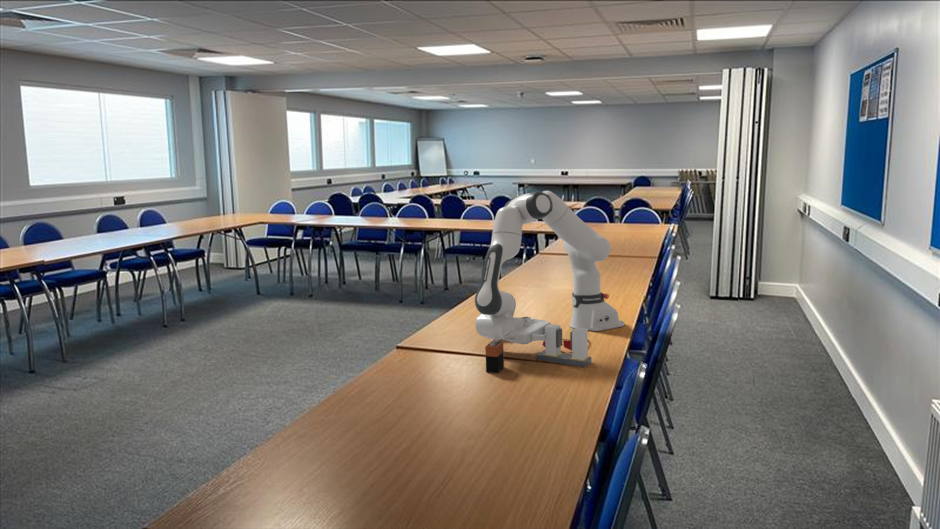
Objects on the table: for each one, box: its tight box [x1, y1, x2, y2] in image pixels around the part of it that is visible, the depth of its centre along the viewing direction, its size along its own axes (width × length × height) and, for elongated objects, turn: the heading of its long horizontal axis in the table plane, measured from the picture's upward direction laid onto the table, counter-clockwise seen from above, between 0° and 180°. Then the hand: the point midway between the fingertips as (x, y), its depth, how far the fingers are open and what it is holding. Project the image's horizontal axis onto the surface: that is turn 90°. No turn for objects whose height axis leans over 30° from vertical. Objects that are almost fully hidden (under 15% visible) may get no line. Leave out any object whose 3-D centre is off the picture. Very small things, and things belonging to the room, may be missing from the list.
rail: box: [536, 350, 593, 368], centre depth 228 cm, size 18×6×2 cm, turn 57°
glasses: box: [541, 338, 590, 352], centre depth 247 cm, size 14×16×5 cm
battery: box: [484, 339, 505, 374], centre depth 221 cm, size 4×7×10 cm, turn 159°
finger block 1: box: [544, 323, 563, 356], centre depth 229 cm, size 5×4×10 cm
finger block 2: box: [569, 327, 589, 360], centre depth 224 cm, size 5×4×10 cm
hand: (551, 334), depth 229 cm, fingers open, 8 cm apart
